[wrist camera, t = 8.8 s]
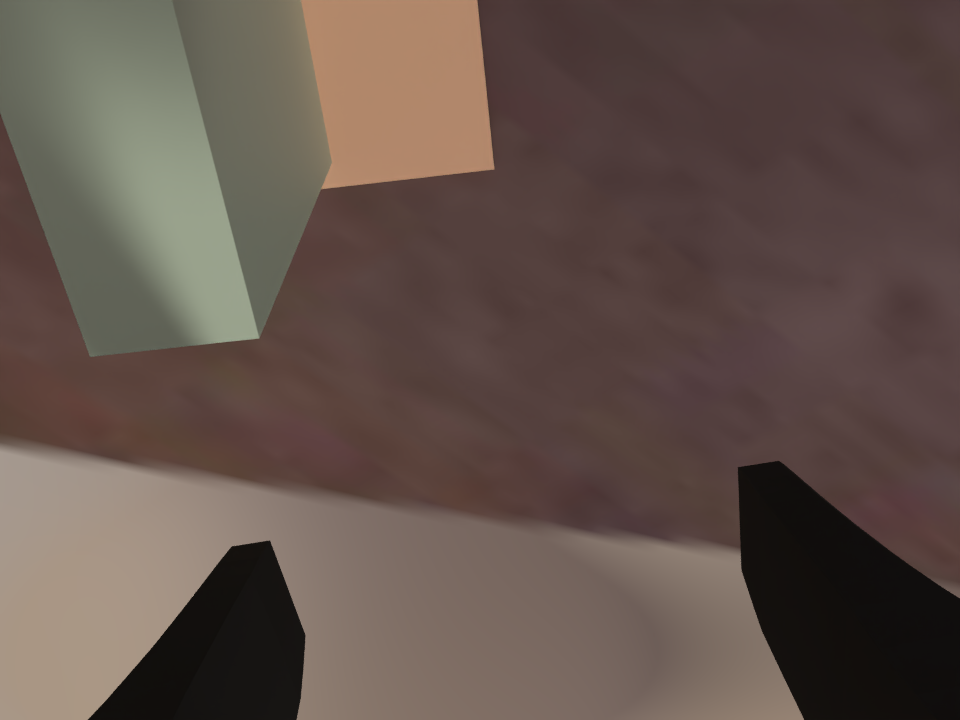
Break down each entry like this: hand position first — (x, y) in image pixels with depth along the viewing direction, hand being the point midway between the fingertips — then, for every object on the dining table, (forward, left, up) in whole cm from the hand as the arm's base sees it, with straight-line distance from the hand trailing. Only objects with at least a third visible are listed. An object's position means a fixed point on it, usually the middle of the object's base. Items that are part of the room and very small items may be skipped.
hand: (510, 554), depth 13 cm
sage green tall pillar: (+5, -7, -10) cm, 13 cm away
